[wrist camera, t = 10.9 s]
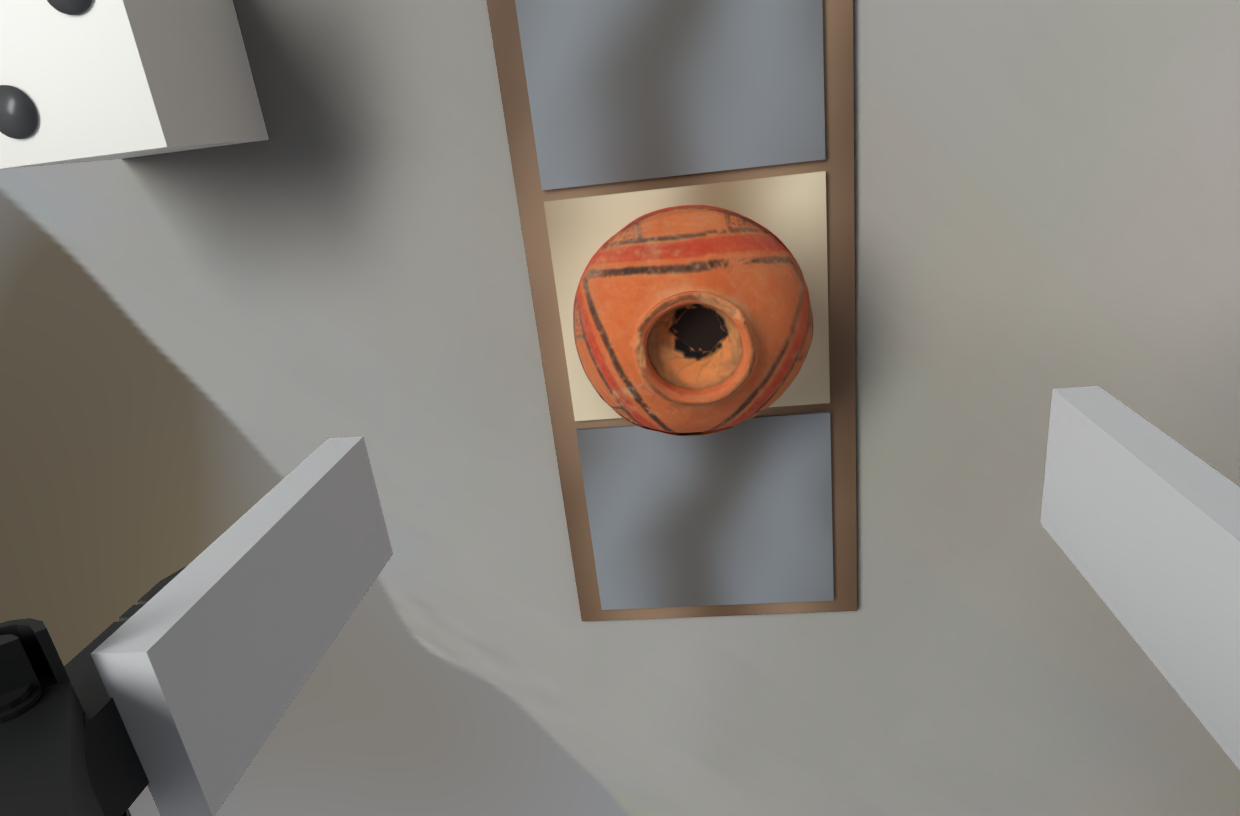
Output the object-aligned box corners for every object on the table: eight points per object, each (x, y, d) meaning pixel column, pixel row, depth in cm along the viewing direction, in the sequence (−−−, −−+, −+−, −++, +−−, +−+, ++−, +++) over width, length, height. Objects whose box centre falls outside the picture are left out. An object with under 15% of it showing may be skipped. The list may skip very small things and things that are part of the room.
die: (222, -44, 27) (94, -86, 21) (269, 139, 29) (165, 147, 23) (65, -19, 27) (-99, -52, 22) (122, 158, 30) (-14, 170, 24)
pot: (651, 136, 27) (692, 174, 21) (813, 260, 30) (889, 325, 24) (524, 319, 29) (528, 400, 23) (685, 417, 32) (724, 512, 26)
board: (848, -563, 21) (850, -575, 20) (856, 607, 34) (857, 613, 33) (416, -467, 22) (411, -477, 22) (582, 618, 35) (581, 624, 35)
